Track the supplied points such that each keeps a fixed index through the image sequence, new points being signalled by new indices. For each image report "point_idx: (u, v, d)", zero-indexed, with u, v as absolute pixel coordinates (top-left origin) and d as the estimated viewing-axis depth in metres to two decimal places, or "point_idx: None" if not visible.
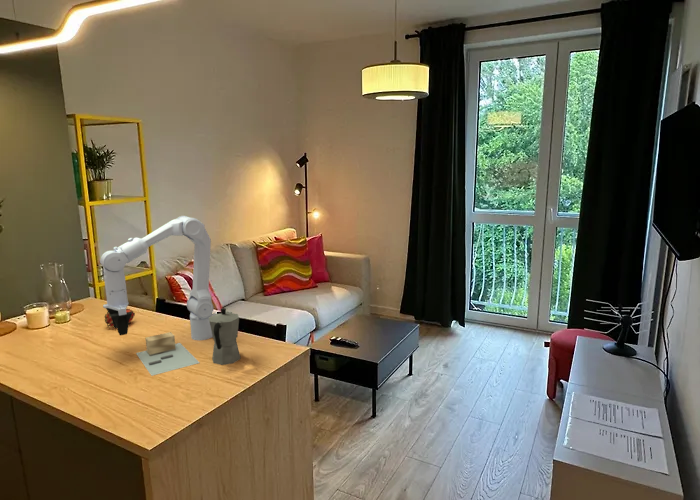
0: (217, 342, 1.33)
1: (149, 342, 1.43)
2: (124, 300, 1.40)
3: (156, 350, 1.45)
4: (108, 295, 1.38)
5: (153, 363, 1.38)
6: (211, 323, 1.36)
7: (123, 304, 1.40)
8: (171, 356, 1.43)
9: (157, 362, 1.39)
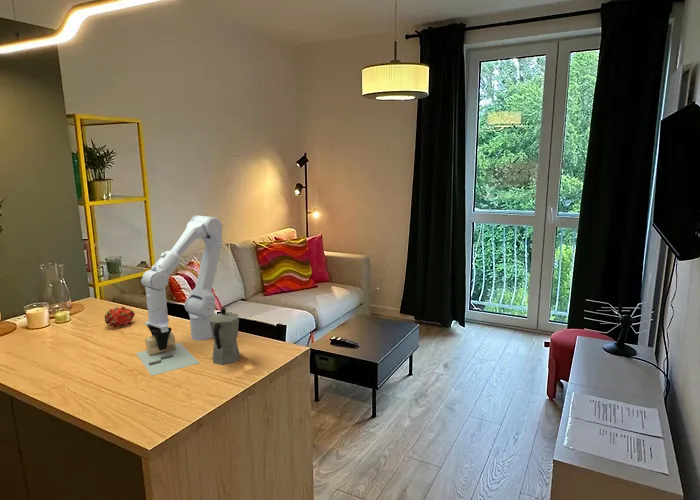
0: (217, 342, 1.33)
1: (149, 342, 1.43)
2: (165, 317, 1.45)
3: (156, 350, 1.45)
4: (150, 313, 1.43)
5: (153, 363, 1.38)
6: (211, 323, 1.36)
7: (164, 321, 1.44)
8: (171, 356, 1.43)
9: (157, 362, 1.39)
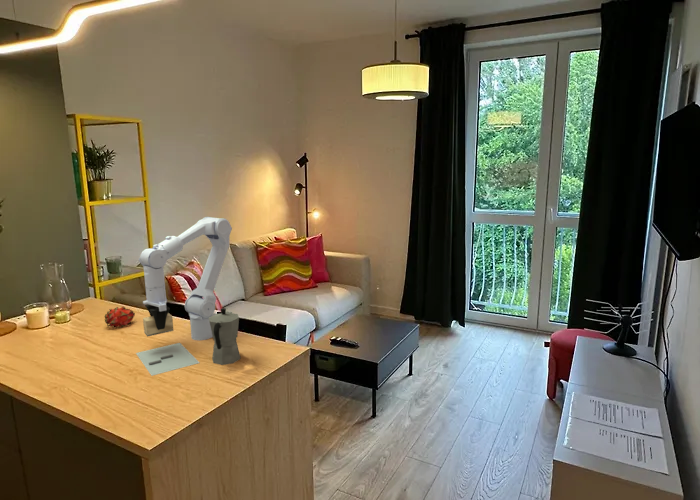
0: (217, 342, 1.33)
1: (147, 322, 1.42)
2: (163, 297, 1.43)
3: (154, 330, 1.44)
4: (148, 292, 1.41)
5: (153, 363, 1.38)
6: (211, 323, 1.36)
7: (162, 300, 1.43)
8: (171, 356, 1.43)
9: (157, 362, 1.39)
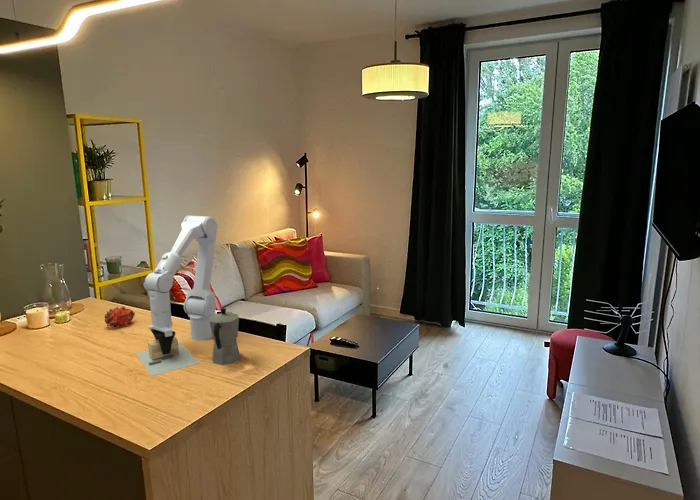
0: (217, 342, 1.33)
1: (152, 346, 1.40)
2: (169, 321, 1.42)
3: (159, 354, 1.42)
4: (154, 316, 1.39)
5: (153, 363, 1.38)
6: (211, 323, 1.36)
7: (168, 325, 1.41)
8: (171, 356, 1.43)
9: (157, 362, 1.39)
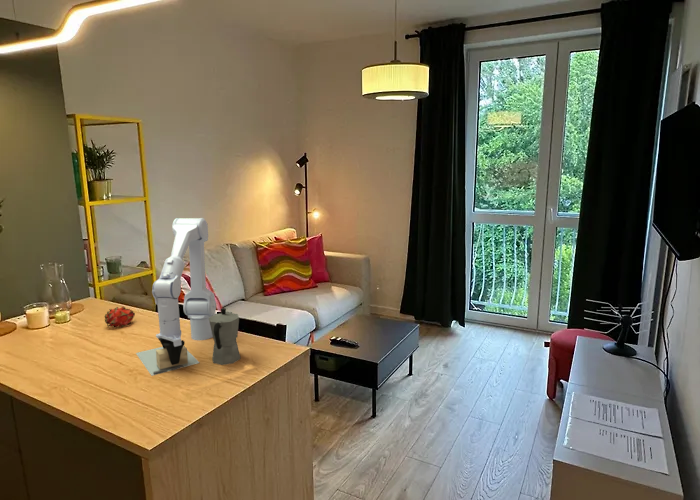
0: (217, 342, 1.33)
1: (160, 355, 1.33)
2: (178, 329, 1.34)
3: (167, 364, 1.34)
4: (162, 325, 1.32)
5: (158, 372, 1.32)
6: (211, 323, 1.36)
7: (177, 334, 1.34)
8: (181, 366, 1.36)
9: (162, 371, 1.33)
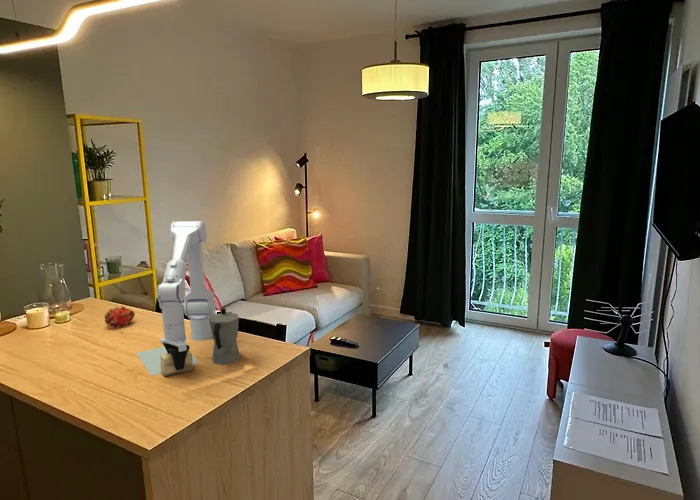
0: (217, 342, 1.33)
1: (164, 360, 1.29)
2: (182, 334, 1.31)
3: (171, 369, 1.31)
4: (166, 329, 1.29)
5: None
6: (211, 323, 1.36)
7: (181, 338, 1.30)
8: None
9: None
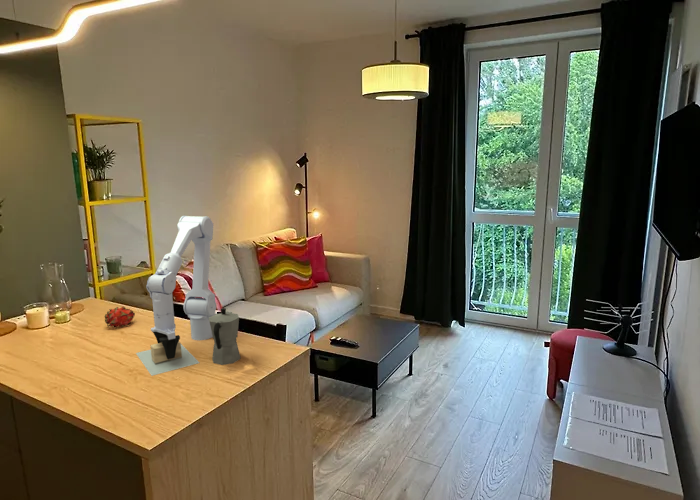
0: (217, 342, 1.33)
1: (154, 350, 1.37)
2: (172, 323, 1.39)
3: (162, 358, 1.39)
4: (156, 318, 1.37)
5: None
6: (211, 323, 1.36)
7: (171, 327, 1.38)
8: None
9: None
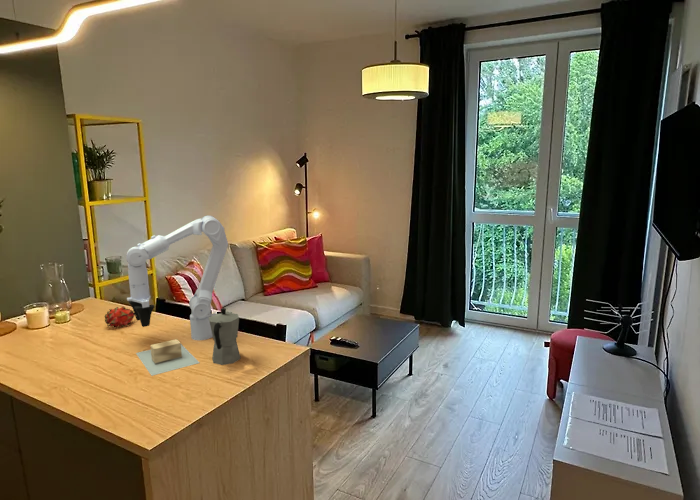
0: (217, 342, 1.33)
1: (154, 350, 1.37)
2: (146, 293, 1.48)
3: (162, 358, 1.39)
4: (132, 289, 1.46)
5: None
6: (211, 323, 1.36)
7: (146, 297, 1.48)
8: None
9: None
